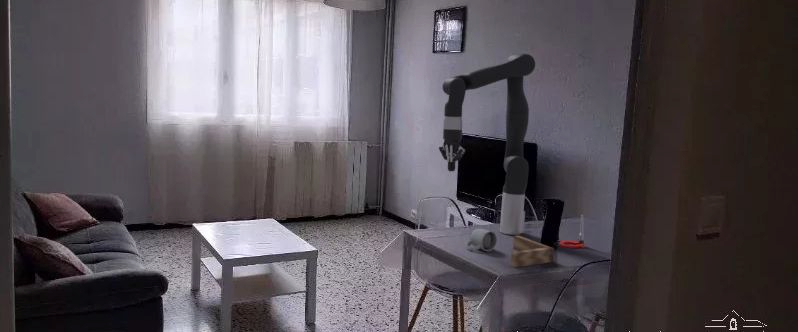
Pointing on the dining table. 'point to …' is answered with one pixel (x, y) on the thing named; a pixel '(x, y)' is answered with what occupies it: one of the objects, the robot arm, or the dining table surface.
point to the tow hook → (578, 244)
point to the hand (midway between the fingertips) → (451, 171)
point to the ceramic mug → (482, 240)
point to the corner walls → (530, 252)
